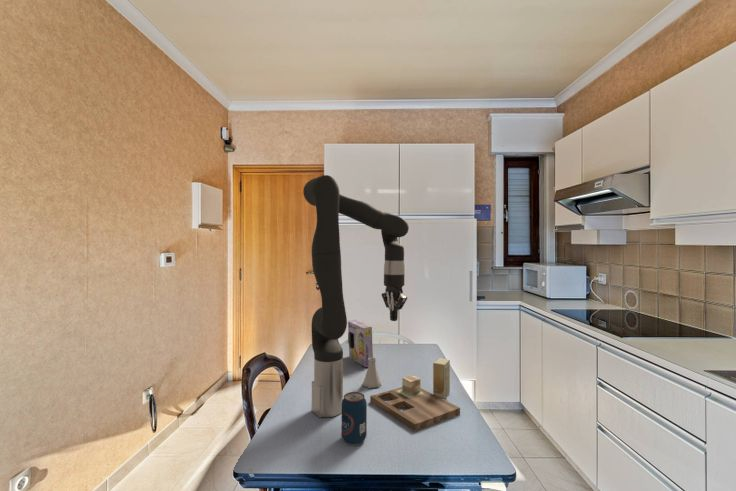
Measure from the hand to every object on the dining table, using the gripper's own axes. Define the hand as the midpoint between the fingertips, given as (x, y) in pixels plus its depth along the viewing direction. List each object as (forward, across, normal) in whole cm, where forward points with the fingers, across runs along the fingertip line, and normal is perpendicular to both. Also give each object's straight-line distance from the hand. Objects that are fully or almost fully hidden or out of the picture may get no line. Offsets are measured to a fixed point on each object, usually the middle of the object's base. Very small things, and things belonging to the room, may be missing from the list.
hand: (393, 320), depth 130 cm
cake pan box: (+26, +36, -8) cm, 46 cm away
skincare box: (+26, -11, -14) cm, 32 cm away
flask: (+27, +10, +2) cm, 29 cm away
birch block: (+24, -6, -4) cm, 25 cm away
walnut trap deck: (+26, -13, +1) cm, 30 cm away
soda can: (+27, -19, +28) cm, 43 cm away
